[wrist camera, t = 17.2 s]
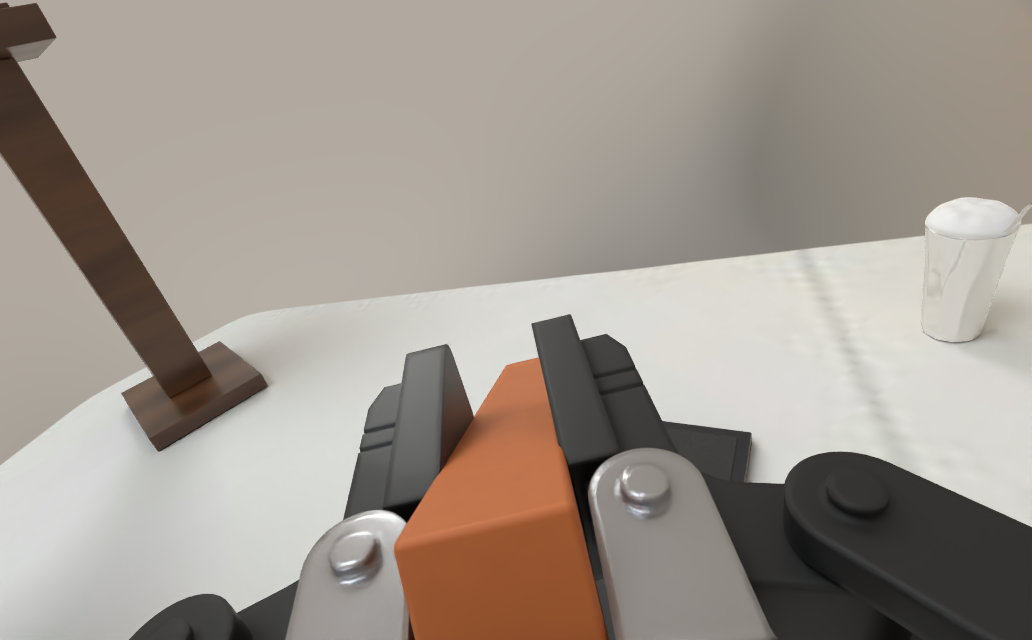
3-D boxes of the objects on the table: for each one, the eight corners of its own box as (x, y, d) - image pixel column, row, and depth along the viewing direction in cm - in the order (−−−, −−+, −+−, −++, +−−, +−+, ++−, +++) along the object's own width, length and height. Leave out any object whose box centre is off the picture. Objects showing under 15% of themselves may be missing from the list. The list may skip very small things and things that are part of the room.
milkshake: (961, 363, 35) (993, 215, 30) (893, 324, 40) (911, 190, 35) (1024, 341, 35) (1066, 192, 30) (949, 305, 40) (976, 170, 35)
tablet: (690, 855, 19) (688, 845, 18) (359, 695, 26) (352, 685, 25) (751, 442, 33) (751, 430, 33) (529, 411, 40) (527, 402, 40)
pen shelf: (276, 392, 51) (36, -34, 34) (164, 461, 45) (-186, -4, 29) (226, 352, 60) (20, 4, 44) (129, 404, 55) (-148, 32, 38)
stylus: (620, 689, 5) (575, 501, 5) (433, 733, 5) (389, 544, 5) (551, 390, 24) (542, 354, 24) (515, 398, 24) (507, 362, 24)
